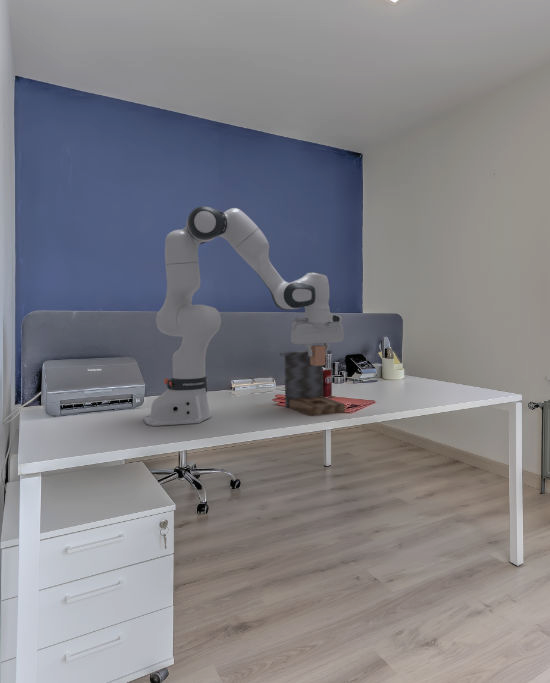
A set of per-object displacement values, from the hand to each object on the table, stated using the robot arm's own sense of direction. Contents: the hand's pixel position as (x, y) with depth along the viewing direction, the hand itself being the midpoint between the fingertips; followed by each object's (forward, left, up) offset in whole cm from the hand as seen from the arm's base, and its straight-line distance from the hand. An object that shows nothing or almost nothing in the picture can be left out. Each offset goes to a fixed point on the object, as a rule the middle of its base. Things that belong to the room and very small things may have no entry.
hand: (317, 355), depth 169 cm
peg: (0, 0, -3) cm, 3 cm away
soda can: (+15, +22, -20) cm, 33 cm away
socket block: (0, +2, -20) cm, 20 cm away
